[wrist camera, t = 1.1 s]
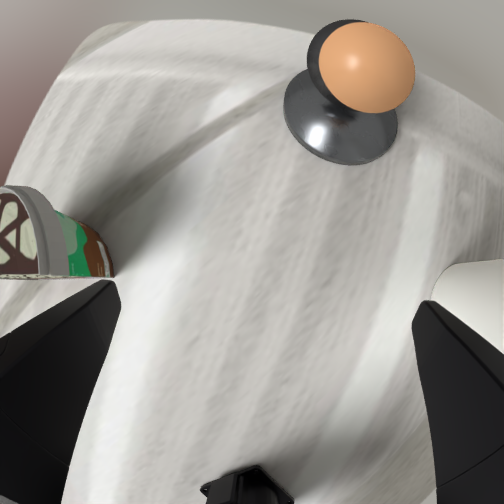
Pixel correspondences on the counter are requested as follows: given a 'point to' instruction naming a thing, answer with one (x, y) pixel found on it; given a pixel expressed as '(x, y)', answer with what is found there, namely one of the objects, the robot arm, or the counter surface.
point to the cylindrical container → (475, 297)
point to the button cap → (367, 67)
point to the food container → (46, 241)
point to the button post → (333, 115)
